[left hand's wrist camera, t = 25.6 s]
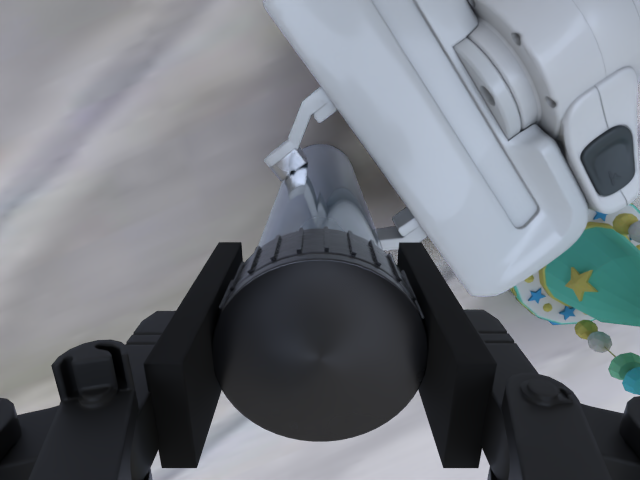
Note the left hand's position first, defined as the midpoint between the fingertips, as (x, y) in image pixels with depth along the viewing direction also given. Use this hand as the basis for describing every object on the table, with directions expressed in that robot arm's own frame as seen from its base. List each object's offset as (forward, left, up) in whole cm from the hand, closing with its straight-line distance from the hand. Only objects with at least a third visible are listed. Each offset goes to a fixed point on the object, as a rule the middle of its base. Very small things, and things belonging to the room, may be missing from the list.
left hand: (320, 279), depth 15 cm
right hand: (0, -1, -10) cm, 10 cm away
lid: (0, 0, +4) cm, 4 cm away
